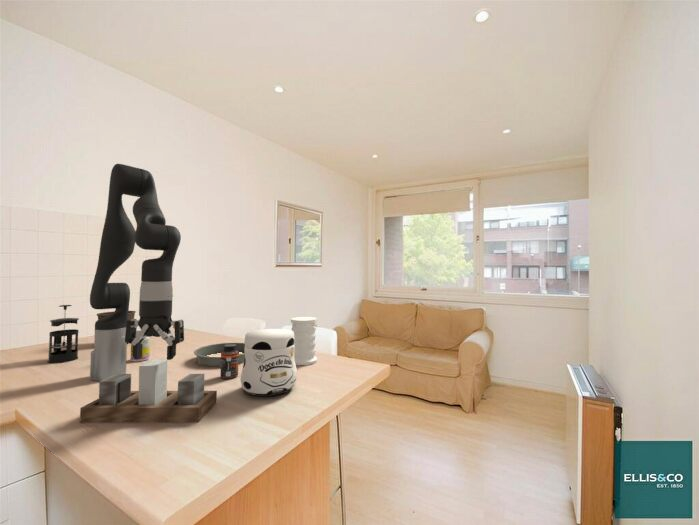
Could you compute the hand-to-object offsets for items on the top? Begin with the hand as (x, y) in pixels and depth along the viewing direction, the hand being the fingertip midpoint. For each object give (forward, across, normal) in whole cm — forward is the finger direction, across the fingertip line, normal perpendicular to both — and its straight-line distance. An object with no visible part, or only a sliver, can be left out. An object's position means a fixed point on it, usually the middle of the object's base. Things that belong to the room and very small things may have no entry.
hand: (154, 358), depth 82 cm
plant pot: (+15, -66, +78) cm, 103 cm away
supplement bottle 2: (+14, +10, +28) cm, 33 cm away
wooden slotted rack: (+14, 0, 0) cm, 14 cm away
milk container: (+14, +27, +16) cm, 35 cm away
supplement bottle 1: (+15, -35, +49) cm, 62 cm away
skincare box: (+13, 0, 0) cm, 13 cm away
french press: (+15, -67, +49) cm, 84 cm away
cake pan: (+15, 0, +51) cm, 53 cm away
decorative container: (+14, +34, +47) cm, 60 cm away
